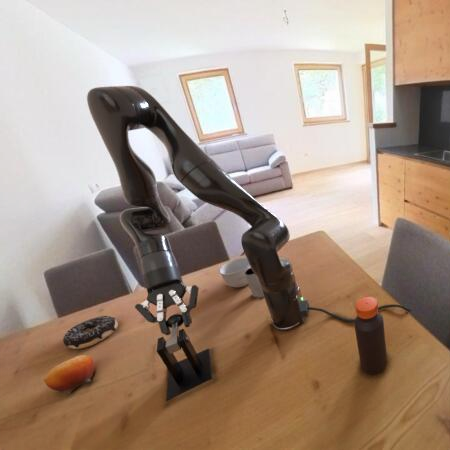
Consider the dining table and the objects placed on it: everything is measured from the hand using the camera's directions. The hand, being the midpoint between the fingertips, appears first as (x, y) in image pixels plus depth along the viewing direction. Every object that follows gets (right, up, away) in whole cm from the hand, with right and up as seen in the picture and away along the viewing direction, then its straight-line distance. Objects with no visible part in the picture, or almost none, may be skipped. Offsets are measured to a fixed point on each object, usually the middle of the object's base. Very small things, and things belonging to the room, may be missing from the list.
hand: (178, 330), depth 73 cm
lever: (+2, -1, -2) cm, 3 cm away
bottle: (+52, -8, -2) cm, 52 cm away
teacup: (-1, +6, +33) cm, 34 cm away
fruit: (-23, -12, -2) cm, 26 cm away
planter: (+9, +3, +25) cm, 27 cm away
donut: (-35, -6, +11) cm, 37 cm away
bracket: (+5, -11, -2) cm, 12 cm away
